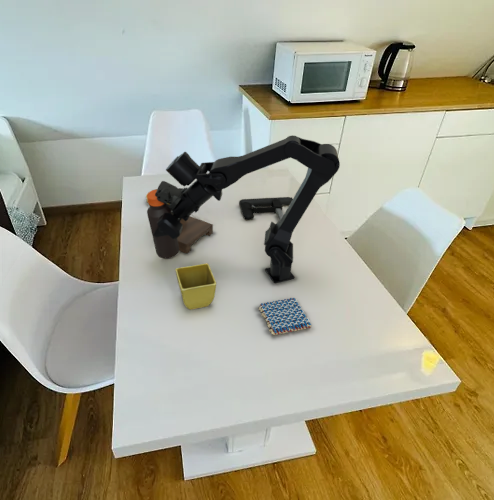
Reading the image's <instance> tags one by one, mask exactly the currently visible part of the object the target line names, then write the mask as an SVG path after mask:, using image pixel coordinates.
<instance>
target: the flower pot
mask: <svg viewBox="0 0 494 500" xmlns="http://www.w3.org/2000/svg"><path fill="white" fill-rule="evenodd" d="M174 270H175V275H176V281H177V284H178V287H179V290H180V294H181V298H182V302H183V304H184V306H185V308H186V309H188V310H189V311H190V310H197V309H201V308H207V307H209V306H210V305H211V304H212V302H213V301H214V299H215V295H216V288H217V281H216V278H215V276H214V273H213V271H212V269H211V266H210V264H209V263H201V264H200V263H199V264H194V265H189V266H182V267H177V268H175V269H174Z"/></svg>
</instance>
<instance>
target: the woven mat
mask: <svg viewBox="0 0 494 500" xmlns="http://www.w3.org/2000/svg"><path fill="white" fill-rule="evenodd" d="M299 304H300V302H299V301H298V299H296V298H295V297H290V298H287V299H286V298H284V299H278V300H275V301H274V300H273V301H270V302H269V301H267V302H264V303H263V302H261V303H260V304H259V307H258V311H260V312H261V317H263V318H264V319H265V321H266V322H267V323H266V325H267V327H268V328H269V330H268V332H269V333H271V334H272V335H274V336H275V335H278V336H279V335H281V334H286V333H289V332H290V333H292V332H297V331H301V330H305V329H311V327H312V324H311V321H310V318H309V317H307V314H306V313H305V311H304V310H303V308H302V306H301V304H300V305H299Z"/></svg>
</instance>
